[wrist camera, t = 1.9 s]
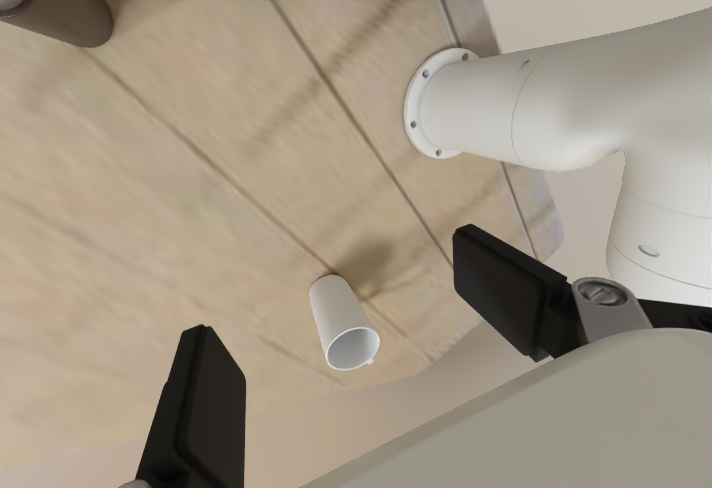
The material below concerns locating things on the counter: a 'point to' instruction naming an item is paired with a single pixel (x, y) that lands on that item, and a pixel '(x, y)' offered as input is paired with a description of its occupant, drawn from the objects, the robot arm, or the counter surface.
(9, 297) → the counter surface
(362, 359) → the mug
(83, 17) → the pepper shaker
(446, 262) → the counter surface
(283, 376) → the counter surface
